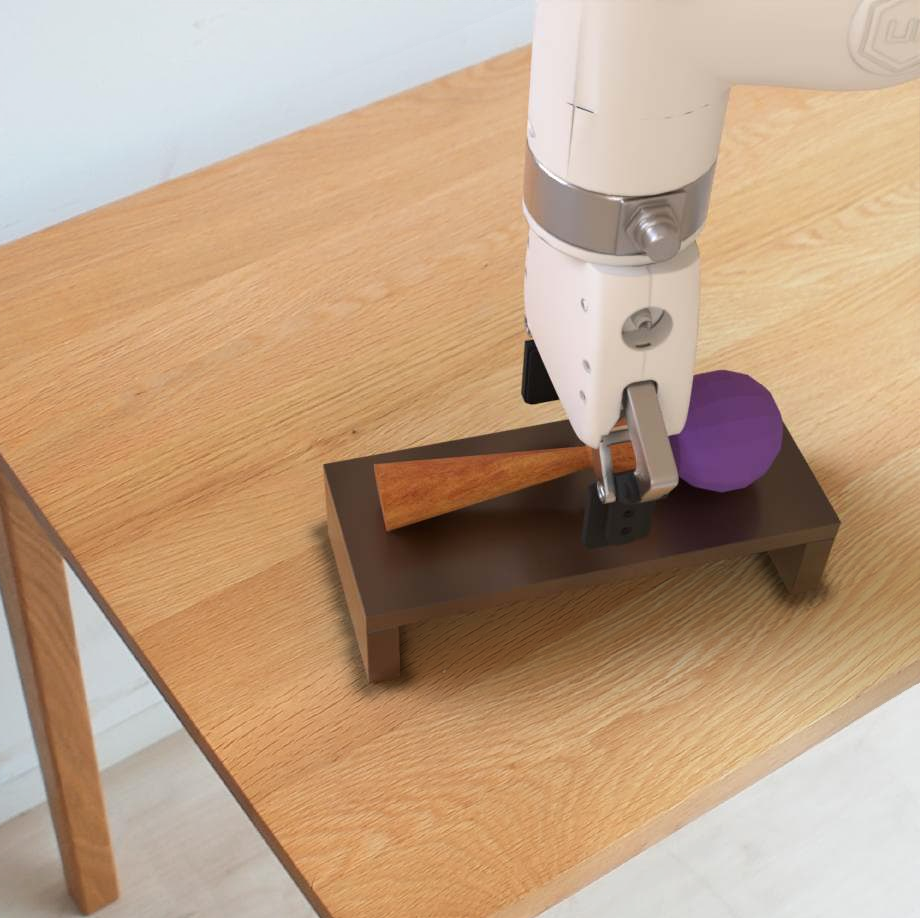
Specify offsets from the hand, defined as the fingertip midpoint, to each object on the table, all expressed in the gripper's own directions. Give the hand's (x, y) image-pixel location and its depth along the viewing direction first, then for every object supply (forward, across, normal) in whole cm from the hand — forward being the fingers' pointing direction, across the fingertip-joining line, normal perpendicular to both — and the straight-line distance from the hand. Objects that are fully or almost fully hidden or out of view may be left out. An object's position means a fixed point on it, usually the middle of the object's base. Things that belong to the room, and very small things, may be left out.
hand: (582, 464), depth 71 cm
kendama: (+2, 0, 0) cm, 2 cm away
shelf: (+8, 0, 0) cm, 8 cm away
